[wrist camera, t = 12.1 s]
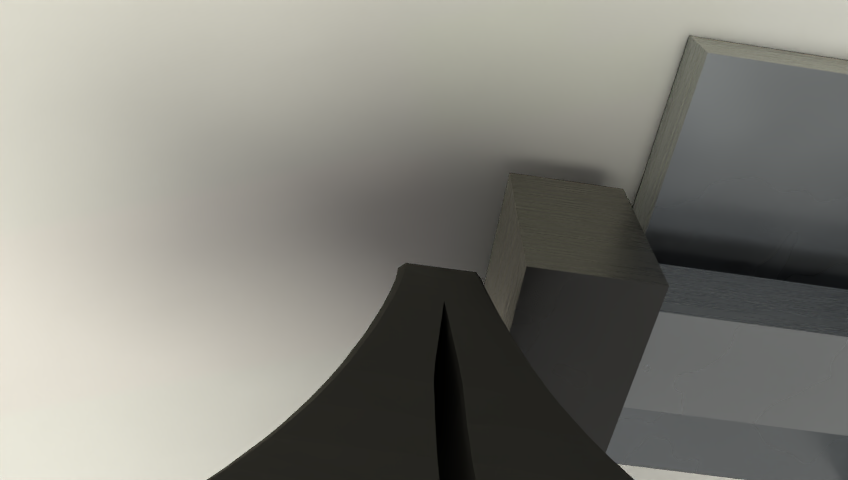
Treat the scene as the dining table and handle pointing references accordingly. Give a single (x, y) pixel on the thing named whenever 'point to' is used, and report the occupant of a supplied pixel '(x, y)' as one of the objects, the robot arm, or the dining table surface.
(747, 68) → the vise
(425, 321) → the robot arm
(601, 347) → the slide jaw
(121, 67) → the dining table surface
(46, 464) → the dining table surface
